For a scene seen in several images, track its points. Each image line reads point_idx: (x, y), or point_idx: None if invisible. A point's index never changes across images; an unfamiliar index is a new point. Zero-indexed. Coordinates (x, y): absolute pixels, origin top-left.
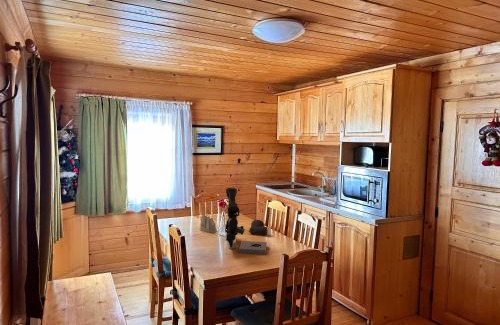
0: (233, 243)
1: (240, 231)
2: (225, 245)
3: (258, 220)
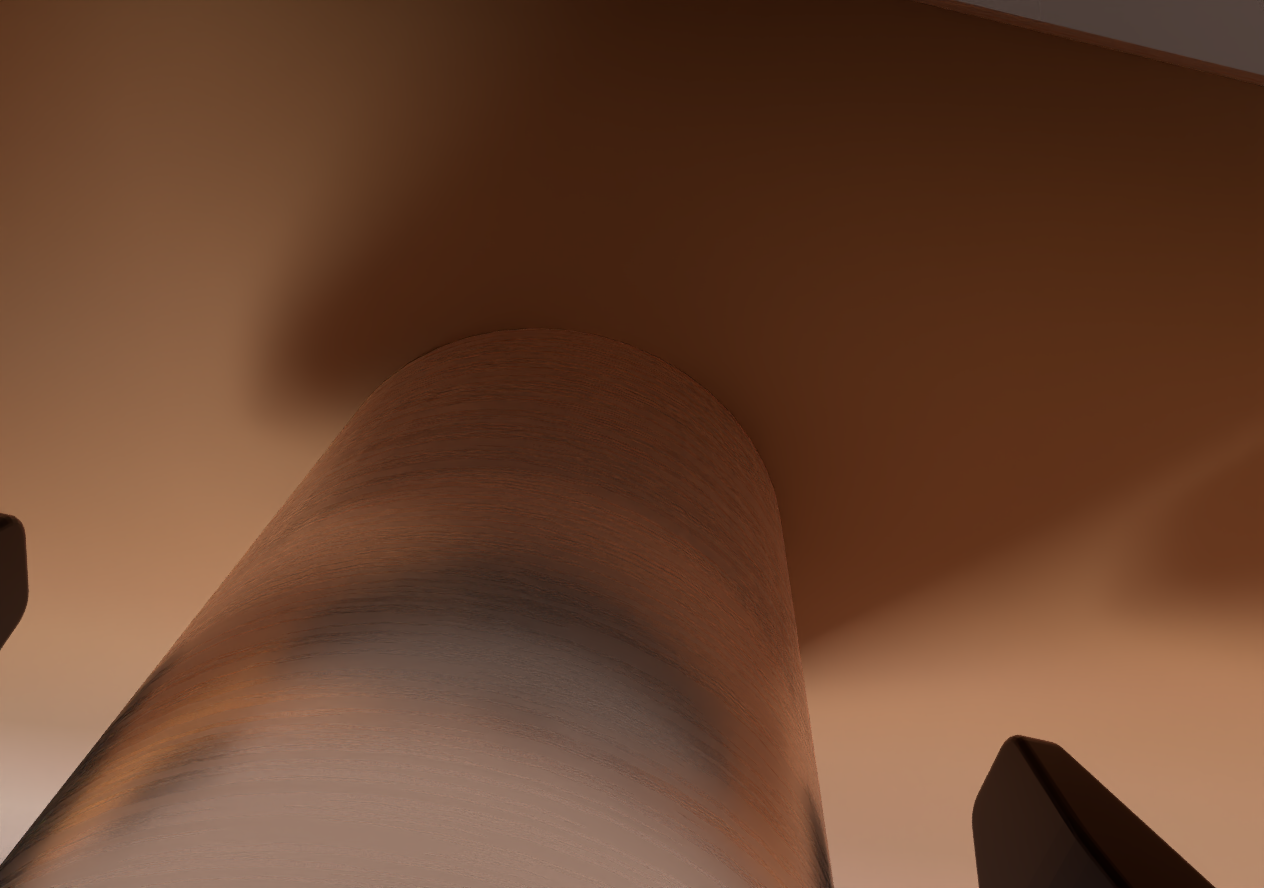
0: (814, 775)
1: None
2: None
3: None
